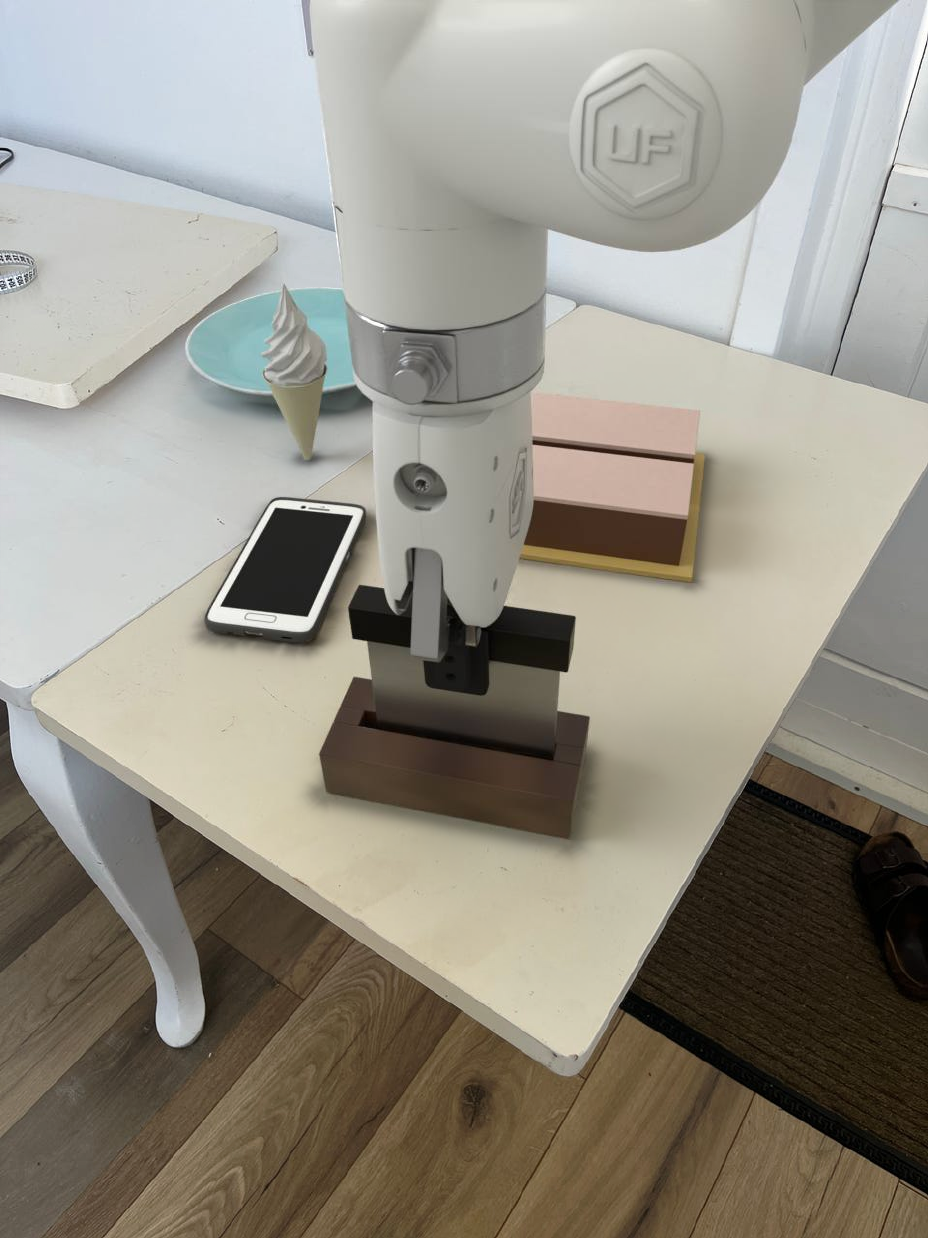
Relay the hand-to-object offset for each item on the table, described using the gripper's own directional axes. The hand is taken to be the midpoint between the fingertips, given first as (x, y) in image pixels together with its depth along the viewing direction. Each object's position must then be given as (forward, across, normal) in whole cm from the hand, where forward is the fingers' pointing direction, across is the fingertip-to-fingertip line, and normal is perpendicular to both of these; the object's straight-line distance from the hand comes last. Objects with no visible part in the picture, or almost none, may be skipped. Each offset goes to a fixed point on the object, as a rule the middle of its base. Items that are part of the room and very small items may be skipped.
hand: (463, 668), depth 49 cm
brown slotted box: (+9, 0, +1) cm, 9 cm away
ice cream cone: (+9, +29, +21) cm, 37 cm away
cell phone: (+9, +15, +17) cm, 24 cm away
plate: (+9, +45, +27) cm, 53 cm away
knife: (+6, 0, 0) cm, 6 cm away
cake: (+9, +28, -3) cm, 30 cm away
